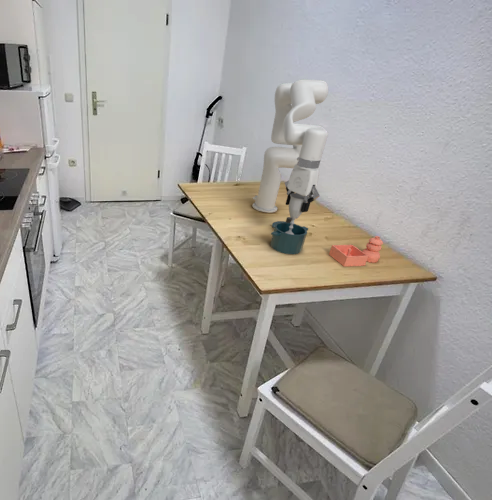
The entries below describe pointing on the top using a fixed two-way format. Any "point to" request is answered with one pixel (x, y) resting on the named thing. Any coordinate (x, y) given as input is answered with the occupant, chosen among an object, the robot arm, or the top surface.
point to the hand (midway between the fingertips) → (296, 207)
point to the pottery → (357, 253)
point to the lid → (283, 221)
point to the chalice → (295, 208)
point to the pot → (288, 238)
